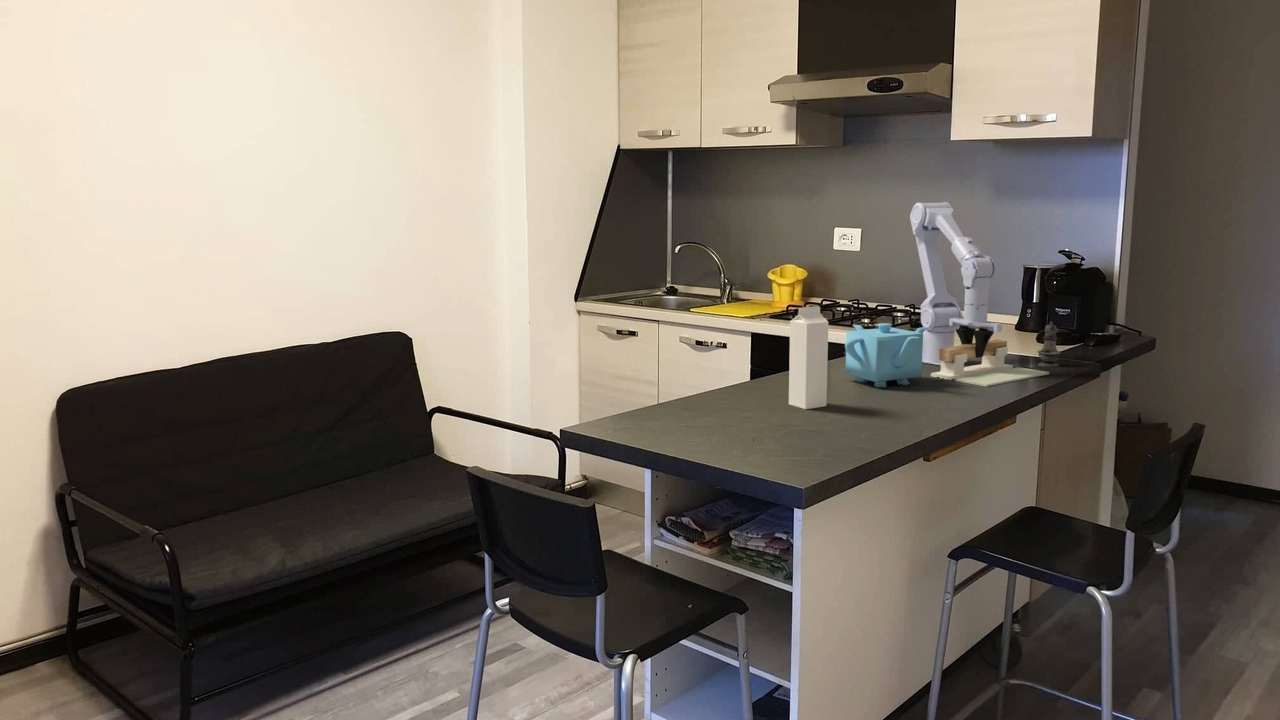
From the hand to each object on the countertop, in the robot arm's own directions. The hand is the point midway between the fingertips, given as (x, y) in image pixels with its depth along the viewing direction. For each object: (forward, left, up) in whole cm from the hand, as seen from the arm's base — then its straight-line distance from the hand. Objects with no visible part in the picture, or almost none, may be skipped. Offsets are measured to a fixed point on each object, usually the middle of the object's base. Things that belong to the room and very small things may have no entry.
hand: (973, 356), depth 250 cm
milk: (+2, -62, -4) cm, 62 cm away
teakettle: (-5, -28, -4) cm, 28 cm away
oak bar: (0, 0, 0) cm, 0 cm away
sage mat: (+9, 0, -4) cm, 10 cm away
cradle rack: (0, 0, -4) cm, 4 cm away
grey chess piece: (+6, +24, -4) cm, 26 cm away
